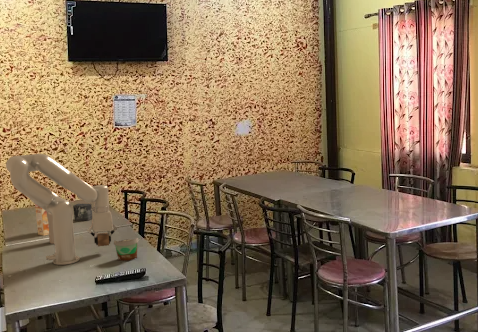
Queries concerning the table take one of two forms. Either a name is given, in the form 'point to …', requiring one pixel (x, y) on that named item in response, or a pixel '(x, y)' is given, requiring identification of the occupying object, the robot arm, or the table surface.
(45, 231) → the coffeecake box
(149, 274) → the table surface
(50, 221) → the candle
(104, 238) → the walnut block
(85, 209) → the box
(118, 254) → the food container
